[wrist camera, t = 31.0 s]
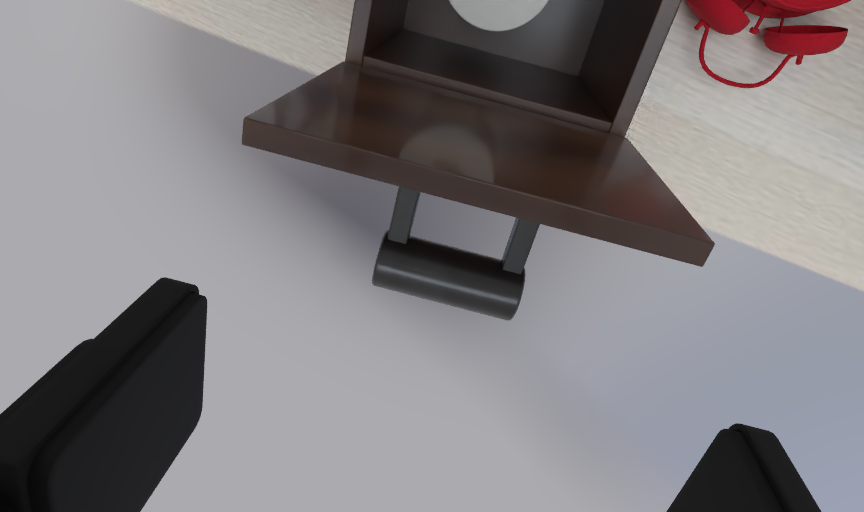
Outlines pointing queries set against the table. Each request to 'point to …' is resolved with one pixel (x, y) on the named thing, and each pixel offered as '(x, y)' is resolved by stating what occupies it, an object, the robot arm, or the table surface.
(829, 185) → the table surface
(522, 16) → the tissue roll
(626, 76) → the chest
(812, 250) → the table surface
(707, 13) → the alarm clock
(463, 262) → the lid
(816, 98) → the table surface
